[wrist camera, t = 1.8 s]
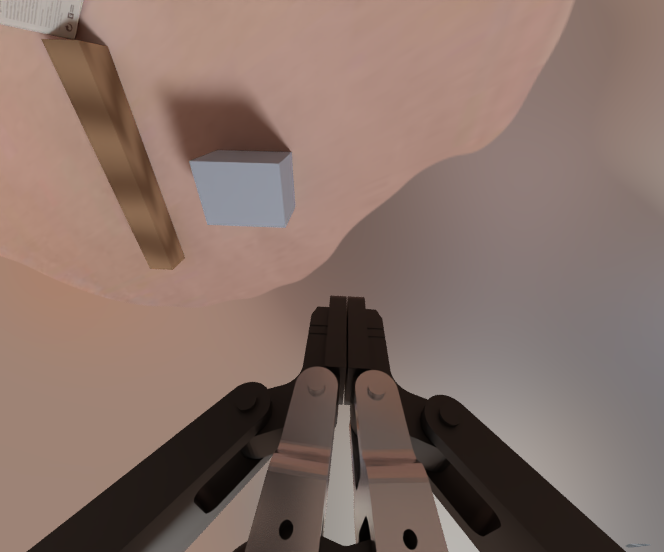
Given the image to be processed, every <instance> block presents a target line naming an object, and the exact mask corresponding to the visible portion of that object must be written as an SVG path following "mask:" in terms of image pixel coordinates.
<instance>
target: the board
mask: <svg viewBox="0 0 664 552" xmlns="http://www.w3.org/2000/svg"><path fill="white" fill-rule="evenodd" d="M42 41H43V43H44V46H45V48H46V50H47V52H48V54H49V56H50V58H51V60H52V62H53V65H54V67H55V69H56V71H57V73H58V75H59V77H60V79H61V81H62V84H63V86H64V88H65V90H66V92H67V94H68V96H69V98H70V100H71V103H72V105H73V107H74V109H75V111H76V113H77V115H78V117H79V119H80V122H81V124H82V126H83V128H84V130H85V132H86V134H87V136H88V138H89V141H90V143H91V145H92V147H93V149H94V151H95V153H96V155H97V157H98V160H99V162H100V164H101V166H102V168H103V170H104V172H105V174H106V176H107V179H108V181H109V183H110V185H111V187H112V189H113V191H114V193H115V195H116V198H117V200H118V202H119V204H120V206H121V208H122V210H123V212H124V214H125V217H126V219H127V221H128V223H129V225H130V227H131V229H132V231H133V233H134V236H135V238H136V240H137V242H138V244H139V246H140V248H141V250H142V252H143V255H144V257H145V259H146V261H147V263H148V265H149V267H150V269H168V270H173V269H174V268H175V267H176V266H177V265H178V264H179V263H180V262H181V261H182V260H183V259H184V258H185V257H184V254H183V251H182V249H181V246H180V243H179V240H178V238H177V235H176V232H175V229H174V227H173V224H172V221H171V219H170V216H169V213H168V210H167V208H166V205H165V202H164V199H163V197H162V194H161V191H160V188H159V186H158V183H157V180H156V178H155V175H154V172H153V169H152V167H151V164H150V161H149V158H148V156H147V153H146V150H145V147H144V145H143V142H142V139H141V136H140V134H139V131H138V128H137V126H136V123H135V120H134V117H133V115H132V112H131V109H130V106H129V104H128V101H127V98H126V95H125V93H124V90H123V87H122V85H121V82H120V79H119V76H118V74H117V71H116V68H115V65H114V63H113V60H112V57H111V54H110V52H109V49H108V47H107V46H103V45H98V44H94V43H89V42H85V41H80V40H59V39H42Z"/></svg>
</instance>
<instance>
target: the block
mask: <svg viewBox="0 0 664 552" xmlns="http://www.w3.org/2000/svg"><path fill="white" fill-rule="evenodd" d="M189 163H190V166H191V169H192V173H193V176H194V180H195V183H196V187H197V190H198V193H199V197H200V200H201V204H202V207H203V211H204V214H205V217H206V221H207V224H208V225H228V226H255V227H282V228H286V226H287V223H288V221H289V219H290V217H291V215H292V213H293V211H294V209H295V194H294V180H293V165H292V152H273V151H236V150H216V151H214V152H211V153H208V154H206V155H203V156H201V157H198V158H196V159H193V160H191V161H189Z"/></svg>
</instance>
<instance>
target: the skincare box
mask: <svg viewBox="0 0 664 552" xmlns="http://www.w3.org/2000/svg"><path fill="white" fill-rule="evenodd" d="M83 1H84V0H0V24H1V25H6V26H11V27H15V28H20V29H25V30H29V31H34V32H39V33H44V34H49V35H53V36H58V37H63V38H68V39H72V40H73V39H75V36H76V32H77V26H78V20H79V16H80V12H81V8H82V4H83Z"/></svg>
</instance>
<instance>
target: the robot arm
mask: <svg viewBox="0 0 664 552" xmlns="http://www.w3.org/2000/svg"><path fill="white" fill-rule="evenodd" d="M346 299H347V298H346V296H330V305H329V306H330V307H317V308H316V310H315V311H314V312H313V313H312V316H311V322H310V327H309V334H308V339H307V345H306V351H305V357H304V363H303V368H302V370H301V372H300V374H299V375H298V376H297V377H296V378H295V379H294V380H293V381H291V382H289V383H287V384H285V385H281V386H278V387H274V388H270V389H267V388H266V387H265V386H264V385H262V384H261V383H257V382H248V383H244V384H242V385H240V386H238V387H236V388H235V389H234V390H232V391H231V392H230V393H229V394H227V395H226V396H225V397H223V398H222V399H221V400H220V401H218V402H217V403H216V404H215V405H213V406H212V407H211V408H210V409H208V410H207V411H206V412H204V413H203V414H202V415H201V416H199V417H198V418H197V419H195V420H194V421H193V422H192V423H190V424H189V425H188V426H186V427H185V428H184V429H183V430H181V431H180V432H179V433H178V434H176V435H175V436H174V437H172V438H171V439H170V440H169V441H167V442H166V443H165V444H164V445H162V446H161V447H160V448H158V449H157V450H156V451H155V452H153V453H152V454H151V455H150V456H148V457H147V458H146V459H144V460H143V461H142V462H141V463H139V464H138V465H137V466H135V467H134V468H133V469H132V470H130V471H129V472H128V473H127V474H125V475H124V476H123V477H122V478H120V479H119V480H118V481H116V482H115V483H114V484H112V485H111V486H110V487H109V488H107V489H106V490H105V491H104V492H102V493H101V494H100V495H98V496H97V497H96V498H95V499H93V500H92V501H91V502H90V503H88V504H87V505H86V506H84V507H83V508H82V509H81V510H80V511H78V512H77V513H76V514H74V515H73V516H72V517H71V518H69V519H68V520H67V521H65V522H64V523H63V524H61V525H60V526H59V527H58V528H57V529H55V530H54V531H53V532H51V533H50V534H49V535H48V536H46V537H45V538H44V539H42V540H41V541H40V542H39V543H37V544H36V545H35V546H34V547H32V548H31V549H30V550H28V551H27V552H184V551H185V550H186V549H187V548H188V547H189V546H190V545H191V544H192V543H193V542H194V541H195V539H196V538H197V537H198V536H199V535H200V534H201V533H202V532H203V531H204V530H205V529H206V527H208V525H209V524H210V523H211V522H212V521H213V520H214V519H215V518H216V517H217V516H218V515H219V513H220V512H221V511H222V510H223V509H224V508H225V507H226V506H227V505H228V504H229V503H230V501H231V500H232V499H233V498H234V497H235V496H236V495H237V494H238V493H239V492H240V491H241V490H242V488H243V487H244V486H245V485H246V484H247V483H248V482H249V481H250V480H251V479H252V478H253V477H254V475H255V474H256V473H257V472H258V471H259V470H260V469H261V468H262V467H263V466H264V465H265V463H266V462H267V461H268V460H269V459H270V458H271V457H272V458H271V461H270V464H269V467H268V470H267V474H266V477H265V481H264V484H263V488H262V492H261V495H260V499H259V502H258V506H257V509H256V513H255V517H254V520H253V524H252V527H251V531H250V535H249V538H248V541H247V542H245V543H244V544H242V545H241V546H239V547H238V548H237V549H235V550H234V551H233V552H448V549H447V545H446V542H445V538H444V534H443V530H442V528H441V523H440V519H439V516H438V512H437V508H436V505H435V501H434V497H433V494H434V495H435V496H436V497H437V499H438V500H439V501H440V502H441V504H442V505H443V506H444V507H445V509H446V510H447V511H448V512H449V514H450V515H451V516H452V517H453V519H454V520H455V521H456V522H457V524H458V525H459V526H460V527H461V529H462V530H463V531H464V532H465V534H466V535H467V536H468V538H469V539H470V540H471V541H472V543H473V544H474V545H475V546H476V548H477V549H478V550H479V551H480V552H626V551H624V550H623V549H622V548H621V547H620V546H619V545H618V544H617V543H615V542H614V541H613V540H612V539H611V538H610V537H609V536H608V535H607V534H606V533H604V532H603V531H602V530H601V529H600V528H599V527H597V525H595V524H594V523H593V522H592V521H591V520H590V519H589V518H588V517H587V516H585V515H584V514H583V513H582V512H581V511H580V510H579V509H578V508H577V507H576V506H574V505H573V504H572V503H571V502H570V501H569V500H567V498H566V497H564V496H563V495H562V494H561V493H560V492H559V491H558V490H556V488H554V487H553V486H552V485H551V484H550V483H549V482H548V481H547V480H545V479H544V478H543V477H542V476H541V475H540V474H539V473H538V472H537V471H536V470H534V469H533V468H532V467H531V466H530V465H529V464H528V463H527V462H525V461H524V460H523V459H522V458H521V457H520V456H519V455H518V454H516V453H515V452H514V451H513V450H512V449H511V448H510V447H509V446H508V445H507V444H505V443H504V442H503V441H502V440H501V439H500V438H499V437H498V436H497V435H495V434H494V433H493V432H492V431H491V430H490V429H489V428H487V426H485V425H484V424H483V423H482V422H481V421H480V420H479V419H478V418H477V417H475V416H474V415H473V414H472V413H471V412H470V411H469V410H468V409H466V408H465V407H464V406H463V405H462V404H461V403H459V402H458V401H457V400H455V399H453V398H451V397H449V396H446V395H435V396H432V397H431V398H429V399H428V400H427V399H425V398H422V397H419V396H417V395H414V394H412V393H409V392H407V391H406V390H404V389H402V388H401V387H400V386H399V385H398V384H397V383H396V382H395V380H394V379H393V377H392V375H391V372H390V365H389V360H388V353H387V346H386V340H385V334H384V327H383V321H382V318H381V316H380V315H379V314H378V312H377V311H376V310H371V309H365V299H364V297H349V296H348V301H347V300H346ZM346 310H347V311H346ZM344 384H345V386H344ZM344 390H345V391H344ZM343 394H344V404H345V405H350V424H349V431H350V444H351V458H352V471H353V484H354V522H355V536H356V544H353V545H350V546H342V545H340V544H338V543H336V542H334V541H331V540H329V539H327V538H325V537H323V533H324V524H325V514H326V505H327V494H328V484H329V476H330V475H329V474H330V466H331V456H332V448H333V439H334V429H335V427H336V424H337V416H338V404H341V405H342V404H343ZM432 492H433V494H432Z"/></svg>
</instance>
